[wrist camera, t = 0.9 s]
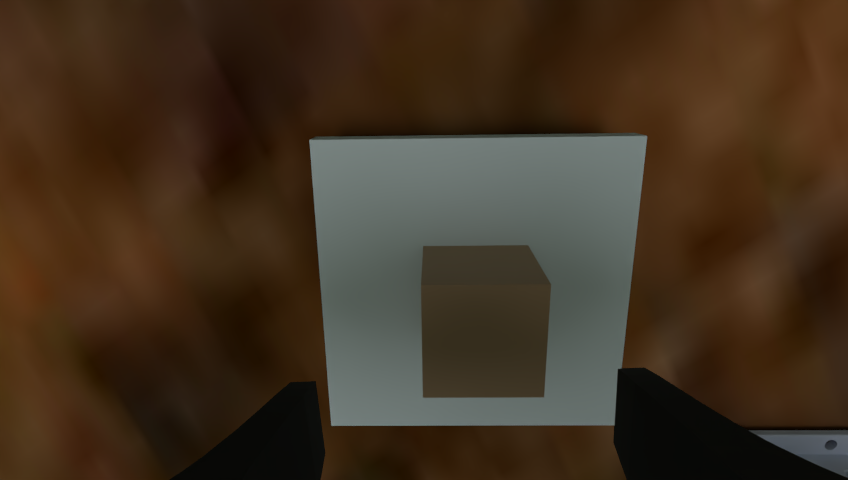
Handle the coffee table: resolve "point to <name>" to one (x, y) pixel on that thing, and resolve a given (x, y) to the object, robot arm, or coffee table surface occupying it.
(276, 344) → the coffee table surface
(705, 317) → the coffee table surface
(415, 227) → the lid
